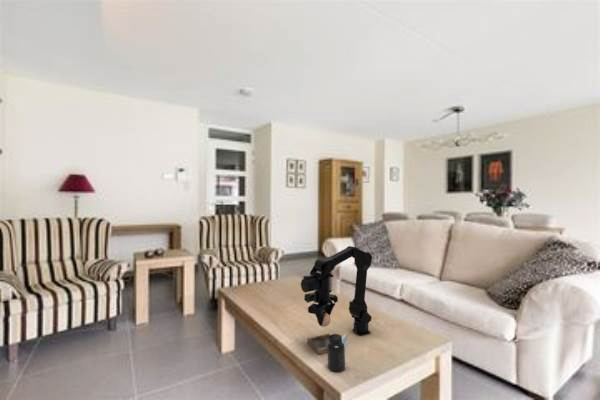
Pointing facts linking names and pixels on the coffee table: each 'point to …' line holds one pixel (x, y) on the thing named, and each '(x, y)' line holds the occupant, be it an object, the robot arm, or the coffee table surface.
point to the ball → (326, 320)
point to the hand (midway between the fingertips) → (323, 322)
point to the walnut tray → (319, 343)
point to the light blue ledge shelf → (344, 340)
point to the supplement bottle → (336, 353)
